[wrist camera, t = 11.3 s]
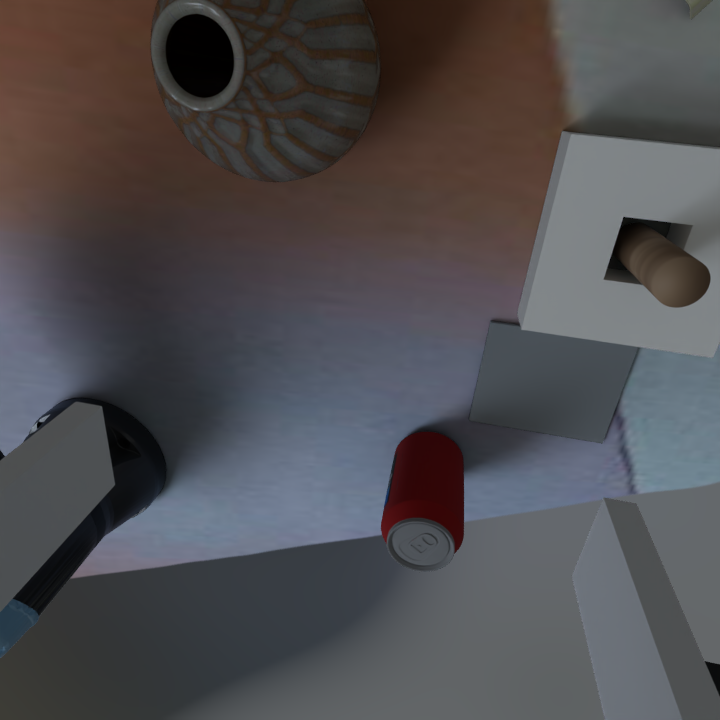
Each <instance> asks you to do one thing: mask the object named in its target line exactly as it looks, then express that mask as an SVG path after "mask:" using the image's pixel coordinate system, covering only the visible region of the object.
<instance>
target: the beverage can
mask: <svg viewBox="0 0 720 720" xmlns="http://www.w3.org/2000/svg"><path fill="white" fill-rule="evenodd" d="M381 531H382V535H383V538H384V540H385V542H386V544H387V548H388V551H389V553H390V555H391V556H392V557H393V559H394V560H395V561H396V562H398V563H399V564H400V565H402V566H404V567H406V568H408V569H411V570H415V571H423V572H427V571H435V570H438V569H441V568H443V567H444V566H446V565H447V564H448V563H449V562H450V561H451V560H452V558H453V556H454V554H455V553H456V551H457V550H458V549H459V547H460V546H461V544H462V541H463V536H464V464H463V455H462V452H461V450H460V449H459V447H458V446H457V444H456V443H455V442H454V441H452V440H451V439H450V438H448V437H446V436H444V435H442V434H439V433H435V432H418V433H414V434H411V435H409V436H408V437H406V438H405V439H403V440H402V441H401V442H400V444H399V445H398V447H397V449H396V451H395V455H394V460H393V465H392V469H391V474H390V479H389V484H388V489H387V495H386V500H385V505H384V511H383V516H382V522H381Z"/></svg>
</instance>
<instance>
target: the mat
mask: <svg viewBox="0 0 720 720" xmlns="http://www.w3.org/2000/svg"><path fill="white" fill-rule="evenodd" d="M637 350H638V347H635V346H628V345H622V344H615V343H608V342H601V341H595V340H588V339H581V338H574V337H568V336H561V335H554V334H548V333H541V332H534V331H527V330H521V326H520V325H517V324H510V323H503V322H496V321H490V326H489V330H488V335H487V339H486V344H485V348H484V353H483V357H482V362H481V366H480V371H479V375H478V380H477V384H476V389H475V393H474V398H473V402H472V407H471V411H470V416H469V421H473V422H479V423H485V424H490V425H496V426H502V427H508V428H514V429H520V430H526V431H532V432H537V433H543V434H549V435H555V436H561V437H567V438H573V439H578V440H584V441H590V442H596V443H603V440H604V438H605V435H606V432H607V430H608V427H609V424H610V422H611V419H612V416H613V414H614V411H615V408H616V406H617V403H618V400H619V398H620V395H621V392H622V390H623V387H624V384H625V382H626V379H627V377H628V374H629V371H630V369H631V366H632V363H633V361H634V358H635V355H636V353H637Z"/></svg>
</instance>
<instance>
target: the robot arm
mask: <svg viewBox="0 0 720 720" xmlns="http://www.w3.org/2000/svg"><path fill="white" fill-rule="evenodd" d="M165 478H166V467H165V461H164V458H163V455H162V452H161V450H160V448H159V446H158V444H157V443H156V441H155V440H154V438H153V437H152V435H151V434H150V433H149V432H148V431H147V430H146V429H145V427H144V426H143V425H141V424H140V423H139V422H138V421H137V420H136V419H134V418H133V417H132V416H130V415H129V414H128V413H126V412H124V411H123V410H121V409H119V408H117V407H115V406H113V405H110V404H108V403H105V402H102V401H98V400H93V399H84V398H79V399H70V400H66V401H63V402H61V403H59V404H57V405H56V406H54V407H53V408H52V409H50V410H49V411H48V412H46V413H45V414H44V415H43V416H41V417H40V418H39V419H38V420H37V421H36V423H35V424H34V425H33V427H32V429H31V430H30V432H29V435H28V436H27V437H26V439H25V440H24V442H23V443H22V444H21V445H20V446H18V447H17V448H16V449H14V450H13V451H12V452H11V453H9V454H8V455H7V456H4V455H3V453H2V452H1V451H0V658H1V657H2V656H3V655H4V654H6V653H7V652H8V650H9V649H10V648H11V647H12V646H13V645H14V644H15V643H16V642H17V641H18V640H19V639H20V638H21V637H22V635H24V633H25V632H26V631H27V630H28V629H29V628H30V627H32V626H33V625H35V623H36V622H37V621H38V619H39V616H40V615H41V613H42V612H43V611H44V610H45V609H46V607H47V606H48V604H49V603H50V602H51V601H52V600H53V598H54V597H55V596H56V595H57V594H58V592H59V591H60V590H61V589H62V587H63V586H64V585H65V584H66V582H67V581H68V580H69V579H70V578H71V576H72V575H73V574H74V573H75V571H76V570H77V569H78V568H79V566H80V565H81V564H82V563H83V561H84V560H85V559H86V558H87V557H88V555H89V554H90V553H91V552H92V550H93V549H94V548H95V547H96V546H97V544H98V543H99V542H100V541H101V539H102V538H103V537H104V536H105V535H107V534H108V533H110V532H111V531H113V530H114V529H116V528H117V527H118V526H120V525H121V524H123V523H124V522H126V521H127V520H129V519H130V518H133V517H135V516H137V515H139V514H140V513H142V512H143V511H144V510H146V509H147V508H148V507H149V506H150V505H151V503H152V502H153V501H154V499H155V498H156V497H157V496H158V494H159V493H160V492H161V490H162V488H163V486H164V483H165ZM572 579H573V584H574V588H575V592H576V597H577V601H578V606H579V610H580V614H581V619H582V623H583V627H584V631H585V636H586V640H587V645H588V649H589V653H590V658H591V662H592V666H593V671H594V675H595V679H596V684H597V688H598V692H599V697H600V701H601V705H602V710H603V714H604V718H605V720H720V664H715V663H710V662H706V661H704V659H703V657H702V655H701V652H700V650H699V647H698V645H697V643H696V640H695V638H694V636H693V633H692V631H691V629H690V627H689V624H688V622H687V620H686V617H685V615H684V613H683V610H682V608H681V606H680V603H679V601H678V599H677V597H676V594H675V592H674V589H673V587H672V585H671V583H670V580H669V578H668V576H667V573H666V571H665V569H664V566H663V564H662V562H661V560H660V557H659V555H658V553H657V550H656V548H655V546H654V543H653V541H652V539H651V536H650V534H649V532H648V529H647V527H646V525H645V522H644V520H643V518H642V515H641V513H640V511H639V508H638V506H637V504H636V503H631V502H625V501H620V500H614V499H609V498H603V500H602V502H601V505H600V507H599V510H598V512H597V515H596V517H595V520H594V522H593V525H592V527H591V530H590V532H589V535H588V537H587V540H586V542H585V545H584V547H583V550H582V552H581V555H580V557H579V559H578V562H577V564H576V567H575V569H574V572H573V574H572Z"/></svg>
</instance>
